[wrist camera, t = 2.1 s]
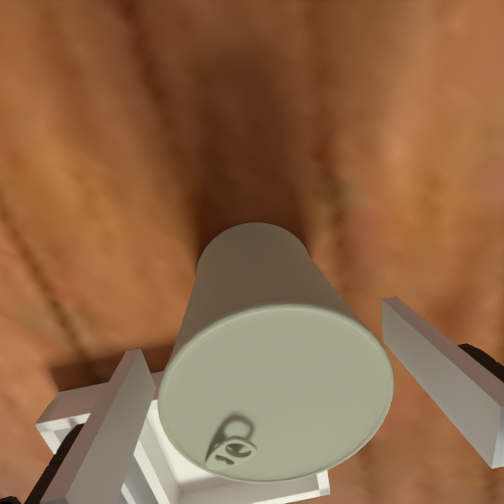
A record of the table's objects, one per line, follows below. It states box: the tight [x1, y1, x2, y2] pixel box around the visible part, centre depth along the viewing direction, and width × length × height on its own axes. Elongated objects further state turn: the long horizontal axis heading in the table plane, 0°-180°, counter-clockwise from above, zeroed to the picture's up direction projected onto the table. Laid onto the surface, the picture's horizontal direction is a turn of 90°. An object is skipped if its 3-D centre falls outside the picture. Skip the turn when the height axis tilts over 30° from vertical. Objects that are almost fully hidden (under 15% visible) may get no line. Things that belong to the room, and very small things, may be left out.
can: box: [157, 222, 394, 484], centre depth 15 cm, size 9×9×12 cm
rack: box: [34, 371, 330, 504], centre depth 24 cm, size 16×22×4 cm
